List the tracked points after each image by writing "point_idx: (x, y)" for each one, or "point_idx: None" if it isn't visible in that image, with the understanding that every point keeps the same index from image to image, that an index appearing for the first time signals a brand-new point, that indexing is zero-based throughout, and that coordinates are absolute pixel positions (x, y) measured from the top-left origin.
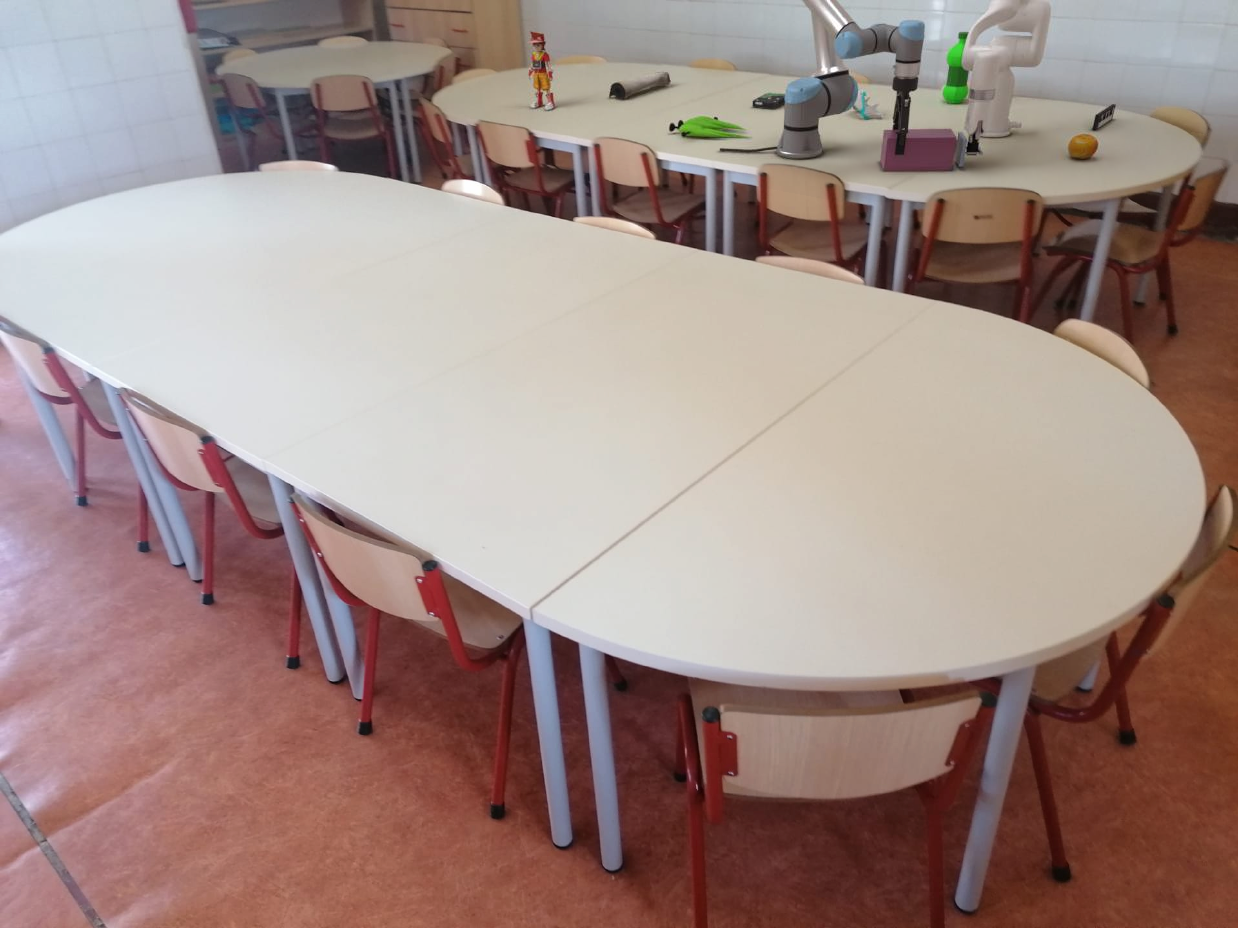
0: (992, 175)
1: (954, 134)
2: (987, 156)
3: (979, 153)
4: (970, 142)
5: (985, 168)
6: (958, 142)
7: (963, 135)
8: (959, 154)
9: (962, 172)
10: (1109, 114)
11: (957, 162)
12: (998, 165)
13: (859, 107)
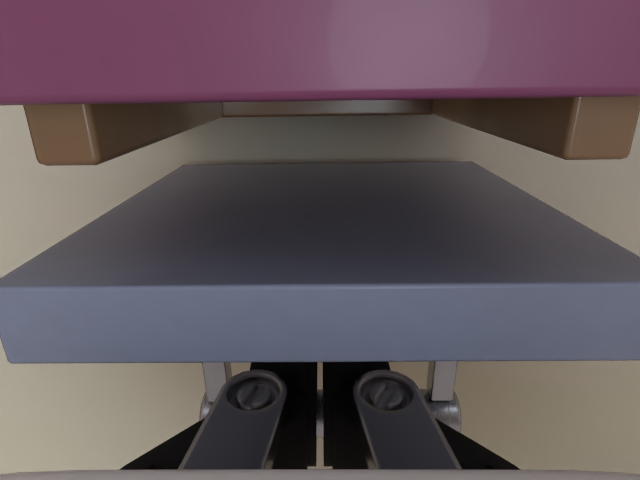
0: (71, 383)
1: (112, 86)
2: (555, 429)
3: (205, 399)
4: (226, 387)
5: (246, 369)
6: (432, 221)
7: (366, 346)
8: (231, 189)
9: (116, 181)
10: None
11: (283, 165)
12: (321, 454)
13: None
